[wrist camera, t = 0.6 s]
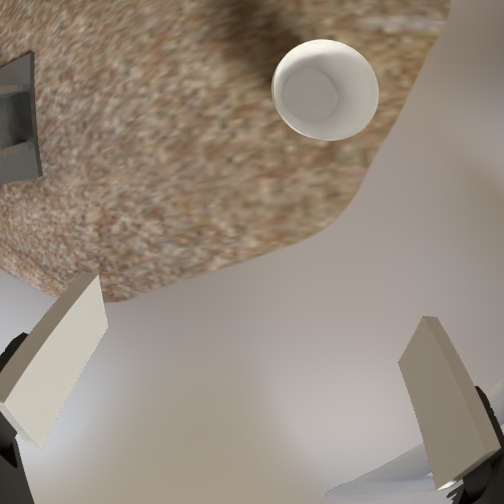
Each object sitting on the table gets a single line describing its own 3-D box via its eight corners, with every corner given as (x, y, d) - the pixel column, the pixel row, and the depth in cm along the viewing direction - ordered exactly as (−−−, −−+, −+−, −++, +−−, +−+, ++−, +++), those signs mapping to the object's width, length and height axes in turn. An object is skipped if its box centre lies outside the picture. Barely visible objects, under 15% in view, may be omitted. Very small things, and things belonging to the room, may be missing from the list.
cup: (270, 128, 34) (269, 138, 24) (272, 56, 30) (272, 33, 19) (345, 134, 34) (376, 148, 23) (348, 63, 30) (382, 47, 19)
